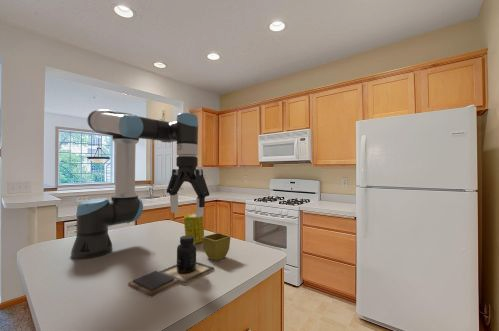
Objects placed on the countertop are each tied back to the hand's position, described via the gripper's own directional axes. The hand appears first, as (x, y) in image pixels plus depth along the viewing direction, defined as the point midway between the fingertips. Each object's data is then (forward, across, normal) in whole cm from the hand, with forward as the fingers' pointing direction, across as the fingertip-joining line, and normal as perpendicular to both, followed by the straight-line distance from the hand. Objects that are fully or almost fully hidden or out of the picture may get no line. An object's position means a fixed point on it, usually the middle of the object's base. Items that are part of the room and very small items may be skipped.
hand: (186, 214), depth 84 cm
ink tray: (+21, -1, -12) cm, 24 cm away
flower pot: (+21, 0, +16) cm, 26 cm away
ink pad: (+21, -1, -12) cm, 24 cm away
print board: (+21, +1, 0) cm, 21 cm away
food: (+21, -24, +26) cm, 41 cm away
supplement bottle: (+20, 0, 0) cm, 20 cm away
